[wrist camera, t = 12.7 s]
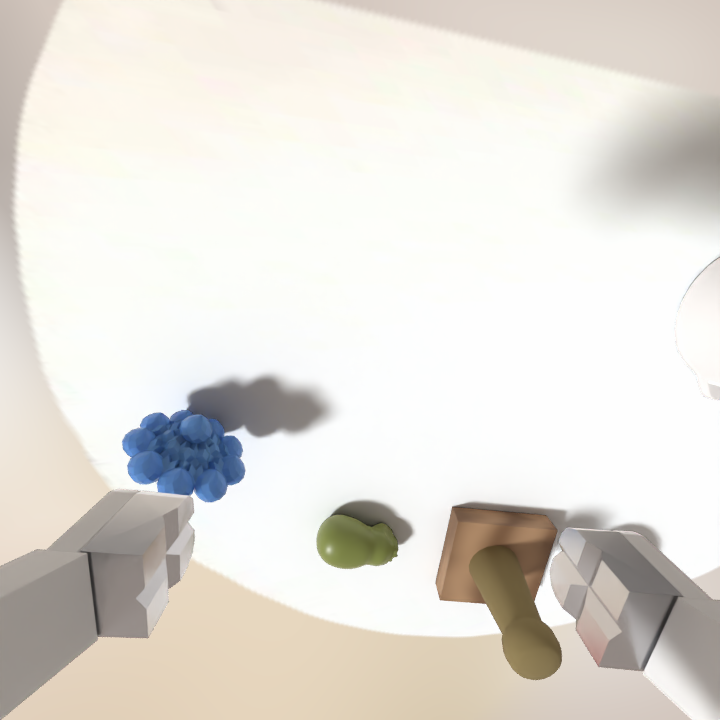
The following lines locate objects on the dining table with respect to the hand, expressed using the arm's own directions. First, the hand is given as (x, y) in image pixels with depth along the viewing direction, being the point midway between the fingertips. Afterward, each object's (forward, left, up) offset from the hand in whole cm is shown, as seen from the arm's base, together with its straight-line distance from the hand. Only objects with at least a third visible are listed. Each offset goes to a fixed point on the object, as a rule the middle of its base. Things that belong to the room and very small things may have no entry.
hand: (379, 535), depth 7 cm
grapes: (+15, +13, -30) cm, 35 cm away
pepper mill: (-20, +28, -27) cm, 43 cm away
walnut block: (-20, +28, -29) cm, 45 cm away
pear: (-3, +26, -30) cm, 40 cm away
